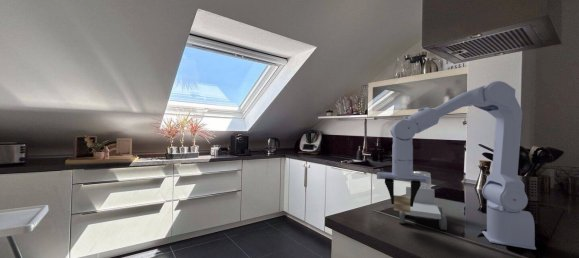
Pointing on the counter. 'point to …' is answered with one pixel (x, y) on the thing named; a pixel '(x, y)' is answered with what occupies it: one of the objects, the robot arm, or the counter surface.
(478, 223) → the counter surface
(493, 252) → the counter surface
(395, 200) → the block
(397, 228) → the counter surface
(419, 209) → the trolley
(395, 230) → the counter surface
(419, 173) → the beer glass
